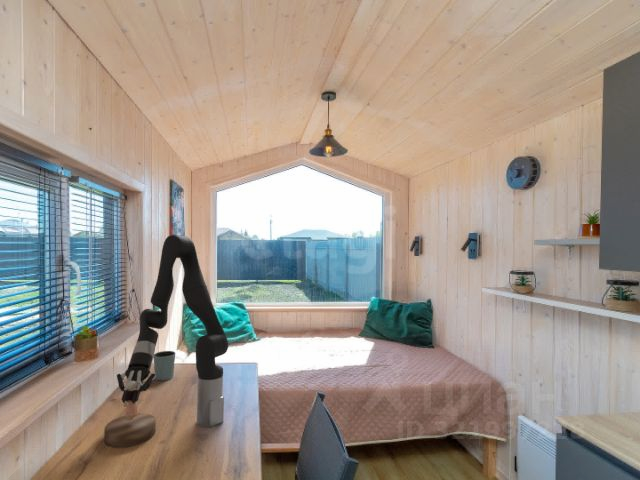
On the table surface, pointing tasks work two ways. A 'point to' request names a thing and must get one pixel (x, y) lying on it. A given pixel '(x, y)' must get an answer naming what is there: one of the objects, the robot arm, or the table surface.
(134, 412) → the grandmother figurine
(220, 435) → the table surface
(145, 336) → the robot arm
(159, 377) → the grey-green cup
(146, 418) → the walnut plinth
